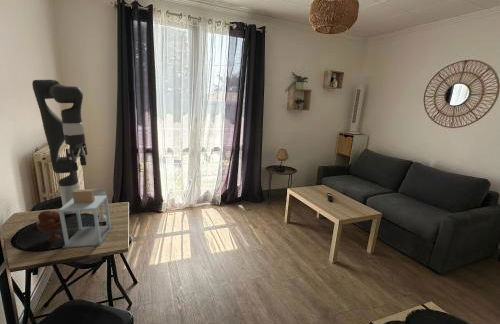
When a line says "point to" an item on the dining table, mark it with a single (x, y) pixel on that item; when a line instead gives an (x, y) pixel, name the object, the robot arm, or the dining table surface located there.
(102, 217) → the chalice
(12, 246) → the dining table surface
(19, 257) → the dining table surface
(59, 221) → the ice cream bowl
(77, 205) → the cover
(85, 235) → the mat
